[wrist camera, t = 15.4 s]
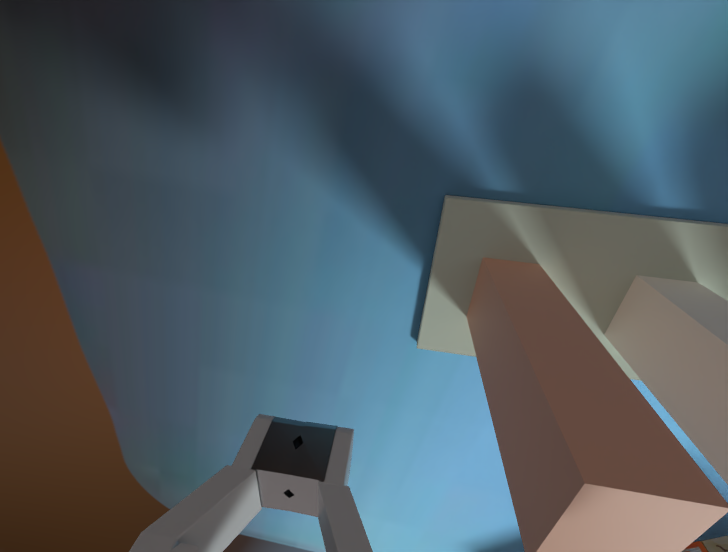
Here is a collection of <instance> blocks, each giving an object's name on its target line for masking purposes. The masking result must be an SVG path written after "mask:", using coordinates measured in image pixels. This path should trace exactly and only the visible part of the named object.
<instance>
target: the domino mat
mask: <svg viewBox="0 0 728 552" xmlns="http://www.w3.org/2000/svg"><path fill="white" fill-rule="evenodd" d="M483 257H484V258H492V259H501V260H509V261H518V262H526V263H534V264H540V266H541V267H542V268H543V269H544V271H545V272H546V273H547V274H548V276H549V277H550V278H551V279H552V281H553V282H554V283H555V285H556V286H557V287H558V288H559V290H560V291H561V292H562V293H563V295H564V296H565V297H566V299H567V300H568V301H569V302H570V304H571V305H572V306H573V307H574V309H575V310H576V311H577V313H578V314H579V315H580V316H581V318H582V319H583V320H584V321H585V323H586V324H587V325H588V327H589V328H590V329H591V330H592V332H593V333H594V334H595V335H596V337H597V338H598V339H599V341H600V342H601V343H602V344H603V346H604V347H605V348H606V349H607V351H608V352H609V353H610V355H611V356H612V357H613V358H614V360H615V361H616V362H617V363H618V365H619V366H620V367H621V369H622V370H623V371H624V372H625V374H626V375H627V376H628V377H629V379H634V380H641V379H640V378H639V377H638V375H637V374H636V373H635V372H634V371H633V369H632V368H631V367H630V366H629V365H628V363H627V362H626V361H625V360H624V359H623V357H622V356H621V355H620V354H619V352H618V351H617V350H616V349H615V348H614V346H613V345H612V344H611V343H610V342H609V340H608V339H607V338H606V337H605V335H604V334H605V332H606V330H607V328H608V326H609V325H610V323H611V321H612V319H613V317H614V315H615V314H616V312H617V310H618V308H619V306H620V304H621V303H622V301H623V299H624V297H625V295H626V293H627V292H628V290H629V288H630V286H631V284H632V282H633V281H634V279H635V277H636V275H640V276H648V277H657V278H665V279H674V280H682V281H691V282H698V283H700V284H701V285H703V286H704V287H706V288H708V289H709V290H711V291H712V292H714V293H716V294H717V295H719V296H720V297H722V298H724V299H725V300H727V301H728V224H723V223H714V222H704V221H694V220H684V219H675V218H665V217H655V216H646V215H636V214H626V213H616V212H607V211H597V210H587V209H577V208H568V207H558V206H548V205H538V204H529V203H519V202H509V201H500V200H490V199H480V198H470V197H461V196H451V195H445V198H444V203H443V209H442V214H441V219H440V224H439V229H438V235H437V240H436V245H435V250H434V255H433V261H432V266H431V271H430V276H429V282H428V287H427V292H426V297H425V302H424V308H423V313H422V318H421V323H420V329H419V334H418V339H417V348H419V349H426V350H433V351H440V352H447V353H454V354H461V355H468V356H475V357H476V353H475V349H474V345H473V341H472V337H471V333H470V329H469V325H468V321H467V317H466V316H467V313H468V309H469V306H470V302H471V298H472V295H473V291H474V287H475V284H476V280H477V277H478V273H479V269H480V266H481V262H482V258H483ZM641 381H642V380H641Z"/></svg>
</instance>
